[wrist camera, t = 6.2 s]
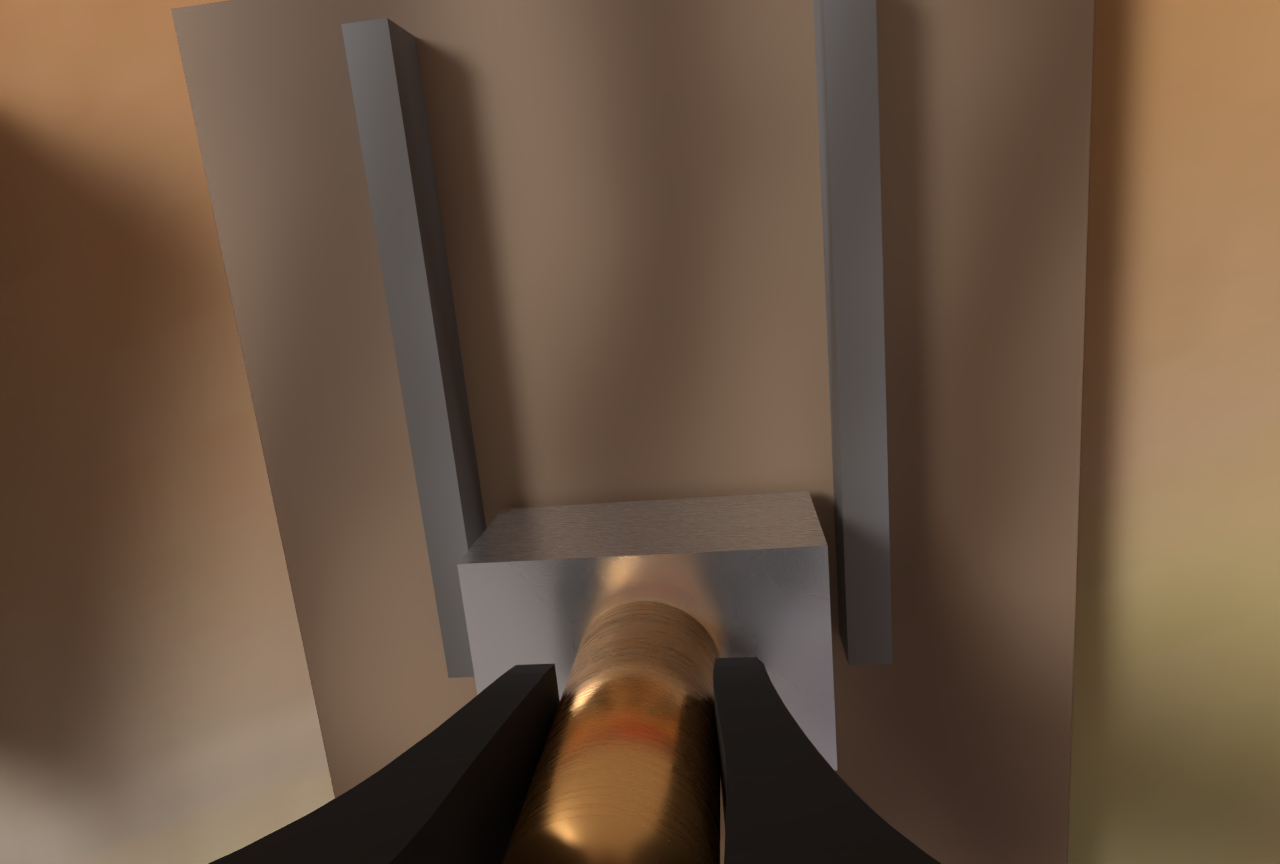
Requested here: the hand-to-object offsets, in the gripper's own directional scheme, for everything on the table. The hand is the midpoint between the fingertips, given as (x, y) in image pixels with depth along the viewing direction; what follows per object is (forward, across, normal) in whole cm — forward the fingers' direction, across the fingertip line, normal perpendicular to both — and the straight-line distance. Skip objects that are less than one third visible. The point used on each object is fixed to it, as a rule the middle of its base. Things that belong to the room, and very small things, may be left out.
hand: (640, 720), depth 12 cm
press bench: (+6, 0, -1) cm, 6 cm away
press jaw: (+4, 0, 0) cm, 4 cm away
